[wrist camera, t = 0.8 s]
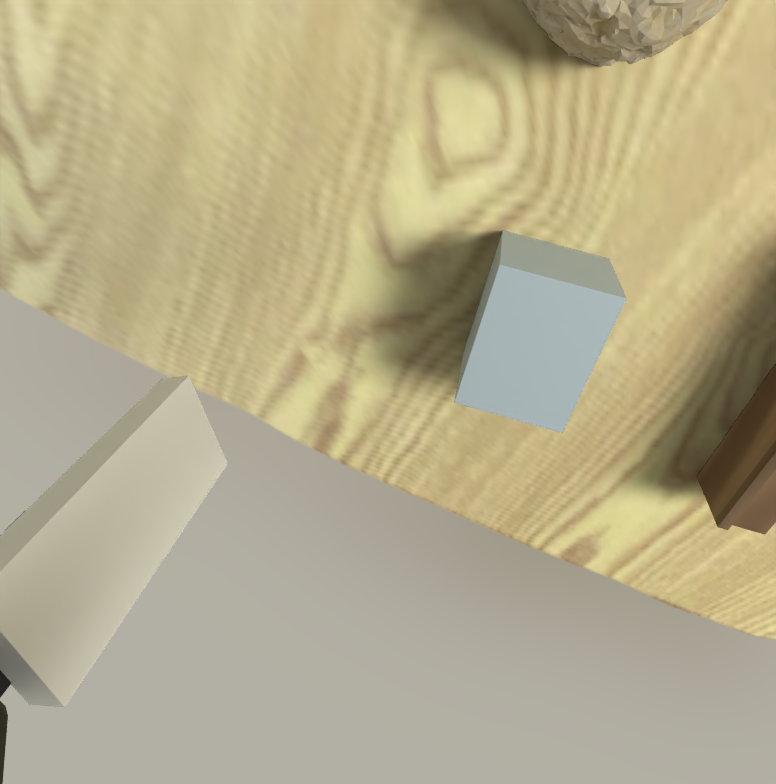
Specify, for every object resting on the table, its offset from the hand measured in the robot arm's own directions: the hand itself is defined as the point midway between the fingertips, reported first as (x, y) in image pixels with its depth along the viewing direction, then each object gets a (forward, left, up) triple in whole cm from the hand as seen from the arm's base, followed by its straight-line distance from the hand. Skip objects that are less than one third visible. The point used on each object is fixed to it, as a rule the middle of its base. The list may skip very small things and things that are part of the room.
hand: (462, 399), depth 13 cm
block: (+4, -6, -21) cm, 22 cm away
